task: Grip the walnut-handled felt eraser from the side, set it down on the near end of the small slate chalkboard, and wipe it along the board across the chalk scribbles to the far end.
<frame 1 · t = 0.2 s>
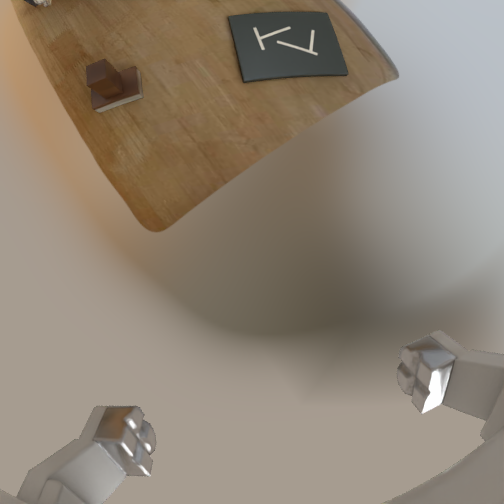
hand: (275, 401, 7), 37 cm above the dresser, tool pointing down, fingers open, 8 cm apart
chalkboard: (288, 43, 37), on the dresser
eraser: (119, 92, 36), on the dresser
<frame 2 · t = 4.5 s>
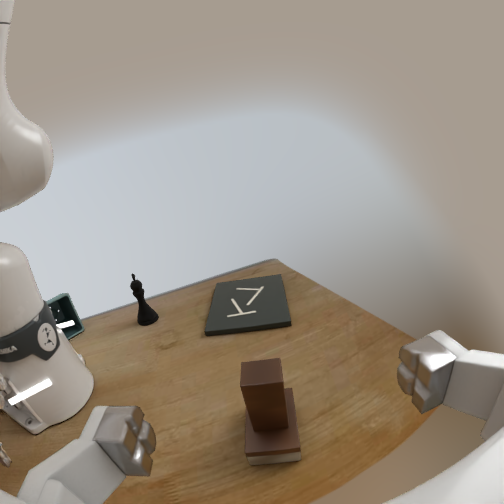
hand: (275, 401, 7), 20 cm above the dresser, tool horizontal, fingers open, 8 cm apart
flower pot: (53, 313, 51), point 3 cm above the dresser
chess piece: (148, 320, 52), on the dresser
chalkboard: (248, 303, 52), on the dresser
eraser: (273, 433, 25), on the dresser
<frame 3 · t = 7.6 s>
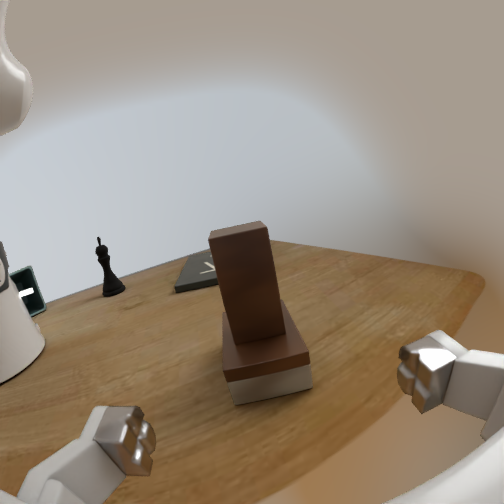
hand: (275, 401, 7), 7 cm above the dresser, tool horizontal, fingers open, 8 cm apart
flower pot: (16, 295, 42), point 3 cm above the dresser
chess piece: (114, 292, 45), on the dresser
chalkboard: (224, 265, 48), on the dresser
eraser: (265, 362, 20), on the dresser
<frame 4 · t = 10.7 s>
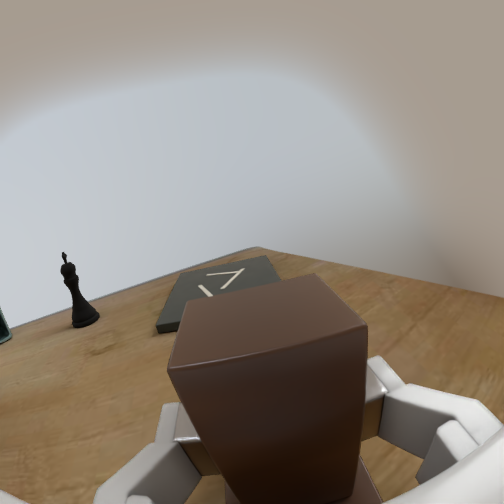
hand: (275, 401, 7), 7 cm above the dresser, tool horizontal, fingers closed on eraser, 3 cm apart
chess piece: (86, 322, 33), on the dresser
chalkboard: (224, 290, 36), on the dresser
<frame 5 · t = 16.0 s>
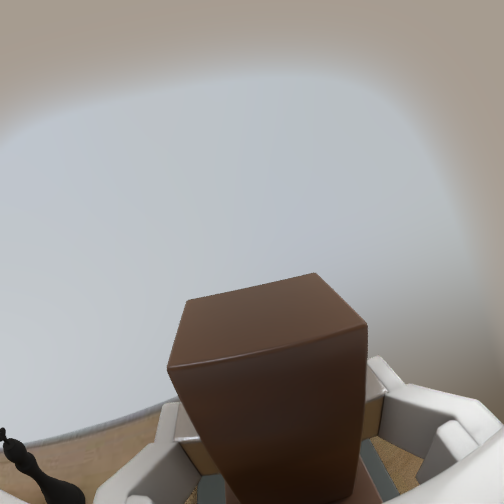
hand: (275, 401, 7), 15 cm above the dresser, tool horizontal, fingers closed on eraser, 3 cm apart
chess piece: (68, 502, 12), on the dresser
chalkboard: (291, 488, 15), on the dresser
when the fingers open (8 cm above the dresser, at t = 21.1 s): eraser stays where it is, resting on chalkboard.
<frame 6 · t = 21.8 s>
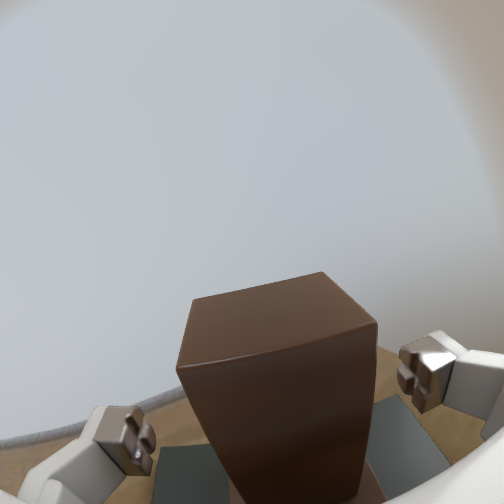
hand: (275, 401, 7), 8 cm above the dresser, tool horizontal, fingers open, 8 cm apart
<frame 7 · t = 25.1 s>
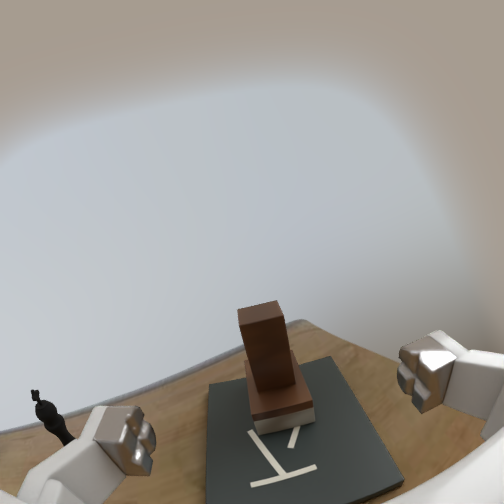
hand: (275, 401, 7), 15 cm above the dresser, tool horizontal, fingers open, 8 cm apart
chess piece: (89, 464, 18), on the dresser
chalkboard: (286, 436, 21), on the dresser
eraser: (279, 400, 24), point 1 cm above the dresser, touching chalkboard
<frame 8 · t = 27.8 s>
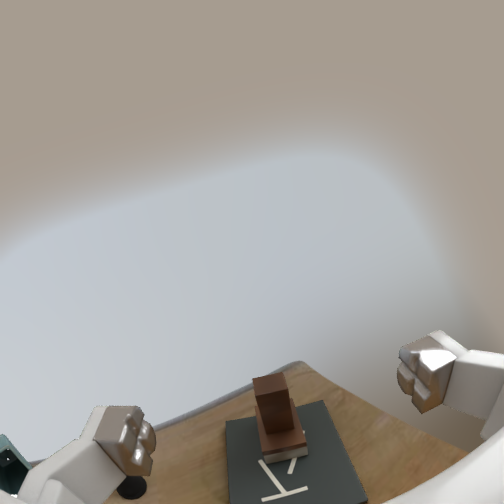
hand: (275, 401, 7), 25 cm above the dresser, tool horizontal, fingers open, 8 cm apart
flower pot: (1, 450, 20), point 3 cm above the dresser
chess piece: (132, 487, 23), on the dresser
chalkboard: (286, 464, 26), on the dresser
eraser: (281, 436, 30), point 1 cm above the dresser, touching chalkboard
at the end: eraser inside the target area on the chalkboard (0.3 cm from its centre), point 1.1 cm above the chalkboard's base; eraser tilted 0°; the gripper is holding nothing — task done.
